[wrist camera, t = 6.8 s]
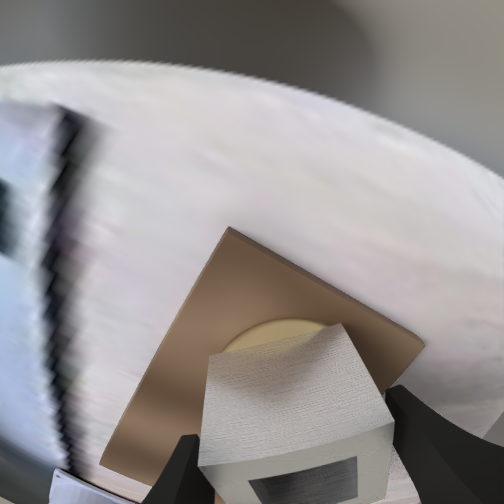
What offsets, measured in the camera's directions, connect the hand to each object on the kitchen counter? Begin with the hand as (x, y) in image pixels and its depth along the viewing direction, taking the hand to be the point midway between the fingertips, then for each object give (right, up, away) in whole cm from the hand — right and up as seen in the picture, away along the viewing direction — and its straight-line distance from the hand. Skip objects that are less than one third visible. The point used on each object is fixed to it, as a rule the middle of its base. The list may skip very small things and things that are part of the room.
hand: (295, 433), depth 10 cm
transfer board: (-3, -2, +5) cm, 6 cm away
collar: (0, +1, +3) cm, 3 cm away
